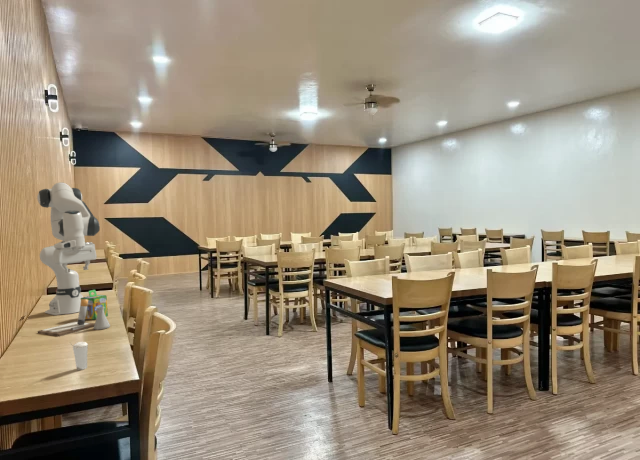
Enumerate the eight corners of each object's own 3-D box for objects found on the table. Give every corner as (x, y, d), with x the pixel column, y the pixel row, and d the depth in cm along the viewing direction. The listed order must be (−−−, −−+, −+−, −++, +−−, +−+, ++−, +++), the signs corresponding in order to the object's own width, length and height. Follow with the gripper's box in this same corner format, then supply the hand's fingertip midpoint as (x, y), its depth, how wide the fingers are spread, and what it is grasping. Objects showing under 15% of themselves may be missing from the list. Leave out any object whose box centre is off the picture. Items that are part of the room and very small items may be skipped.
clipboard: (37, 333, 204) (37, 329, 204) (76, 323, 221) (76, 319, 221) (59, 336, 196) (59, 331, 196) (97, 325, 213) (97, 321, 213)
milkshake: (70, 369, 150) (68, 341, 149) (87, 365, 153) (85, 337, 153) (74, 372, 146) (71, 343, 146) (91, 368, 150) (89, 339, 150)
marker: (75, 323, 211) (79, 299, 211) (80, 323, 214) (84, 298, 214) (80, 325, 210) (84, 300, 210) (85, 324, 213) (89, 299, 213)
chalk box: (95, 320, 226) (93, 291, 225) (81, 319, 229) (79, 291, 228) (108, 315, 235) (106, 288, 234) (95, 315, 237) (93, 288, 237)
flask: (113, 325, 211) (111, 305, 211) (104, 329, 204) (103, 308, 203) (99, 326, 212) (97, 306, 211) (90, 330, 204) (88, 309, 204)
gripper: (90, 241, 224) (92, 268, 225) (50, 245, 206) (52, 274, 207) (98, 241, 221) (100, 268, 222) (58, 245, 203) (60, 274, 204)
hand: (76, 271), depth 214 cm, fingers open, 8 cm apart
